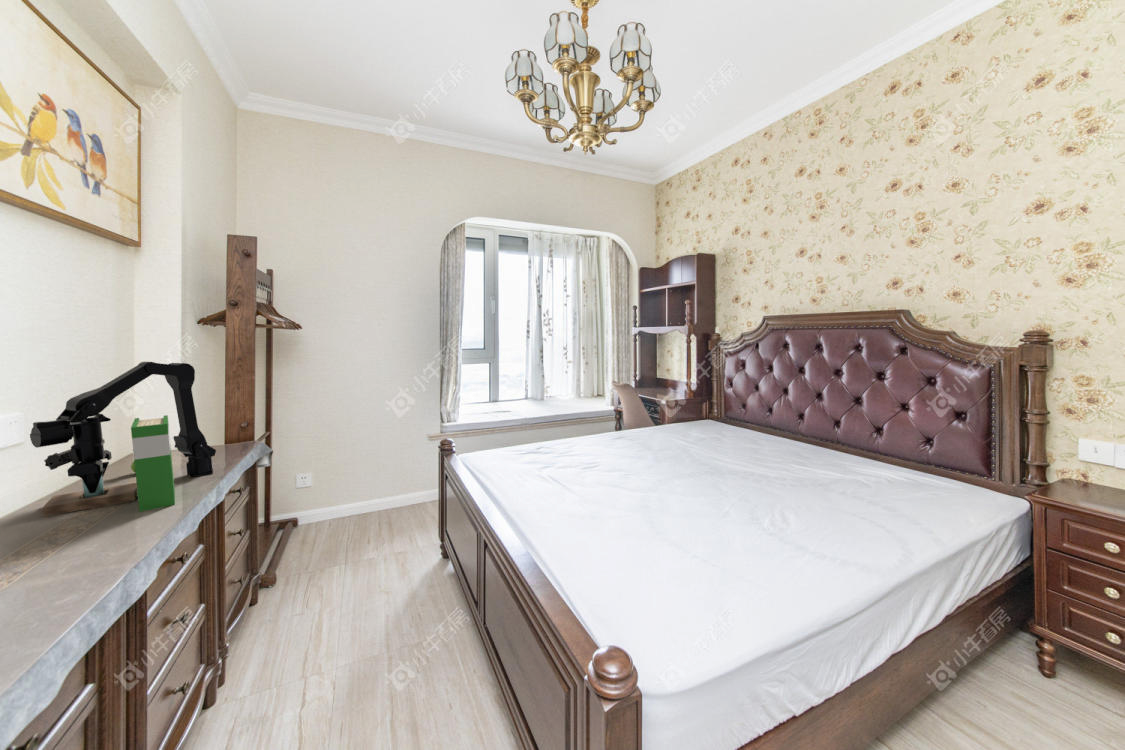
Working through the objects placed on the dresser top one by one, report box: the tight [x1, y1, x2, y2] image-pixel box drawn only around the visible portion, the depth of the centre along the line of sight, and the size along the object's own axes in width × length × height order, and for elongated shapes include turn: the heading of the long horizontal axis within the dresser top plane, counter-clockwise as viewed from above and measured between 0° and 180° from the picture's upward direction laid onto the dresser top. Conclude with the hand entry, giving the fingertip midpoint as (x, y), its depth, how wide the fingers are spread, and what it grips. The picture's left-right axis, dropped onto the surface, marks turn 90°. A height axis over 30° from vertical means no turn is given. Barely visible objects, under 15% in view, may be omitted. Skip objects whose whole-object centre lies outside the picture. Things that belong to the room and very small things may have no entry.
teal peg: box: [81, 476, 105, 498], centre depth 128 cm, size 4×4×6 cm
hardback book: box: [130, 414, 176, 513], centre depth 129 cm, size 18×7×24 cm, turn 42°
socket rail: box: [41, 482, 138, 517], centre depth 128 cm, size 18×11×2 cm, turn 129°
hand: (94, 490), depth 128 cm, fingers closed on teal peg, 4 cm apart
